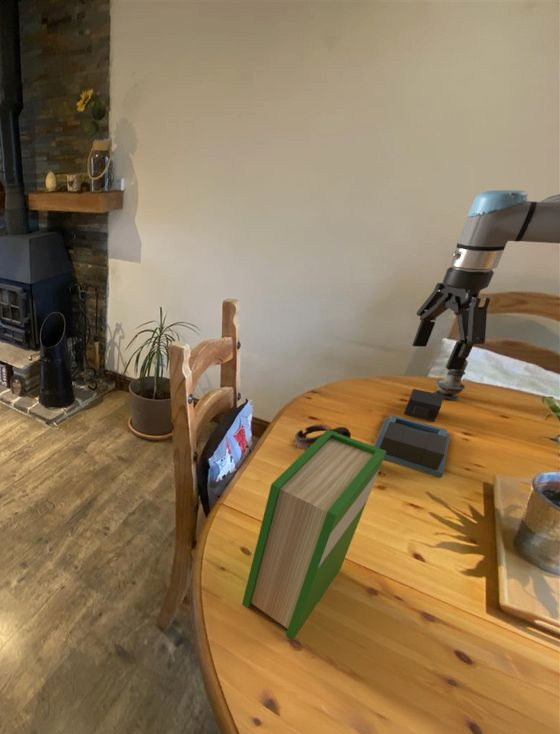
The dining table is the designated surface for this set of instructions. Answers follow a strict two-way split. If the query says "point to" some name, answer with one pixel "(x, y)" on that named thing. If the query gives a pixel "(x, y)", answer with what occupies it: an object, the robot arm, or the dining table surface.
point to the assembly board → (416, 428)
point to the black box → (424, 405)
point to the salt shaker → (451, 384)
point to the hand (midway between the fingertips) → (435, 356)
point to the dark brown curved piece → (307, 442)
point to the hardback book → (310, 527)
